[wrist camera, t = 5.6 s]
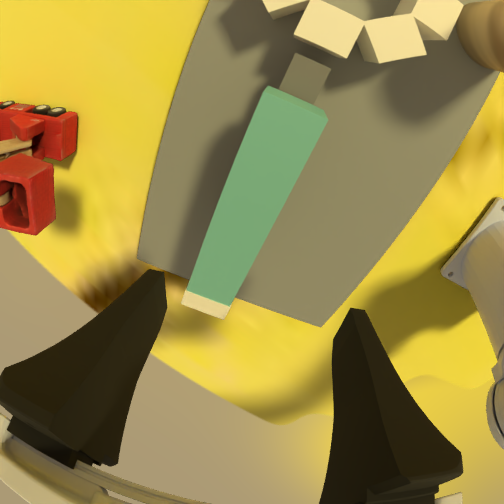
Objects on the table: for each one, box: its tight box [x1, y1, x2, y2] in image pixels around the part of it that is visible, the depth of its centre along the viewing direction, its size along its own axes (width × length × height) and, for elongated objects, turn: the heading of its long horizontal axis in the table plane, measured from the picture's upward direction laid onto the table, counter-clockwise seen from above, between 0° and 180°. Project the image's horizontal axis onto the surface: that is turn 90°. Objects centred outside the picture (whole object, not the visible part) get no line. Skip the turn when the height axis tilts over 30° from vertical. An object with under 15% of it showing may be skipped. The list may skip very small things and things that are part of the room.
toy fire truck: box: [0, 101, 78, 235], centre depth 14 cm, size 3×14×10 cm, turn 73°
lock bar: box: [181, 86, 328, 320], centre depth 14 cm, size 3×12×2 cm, turn 159°
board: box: [137, 0, 500, 327], centre depth 14 cm, size 16×30×4 cm, turn 159°
